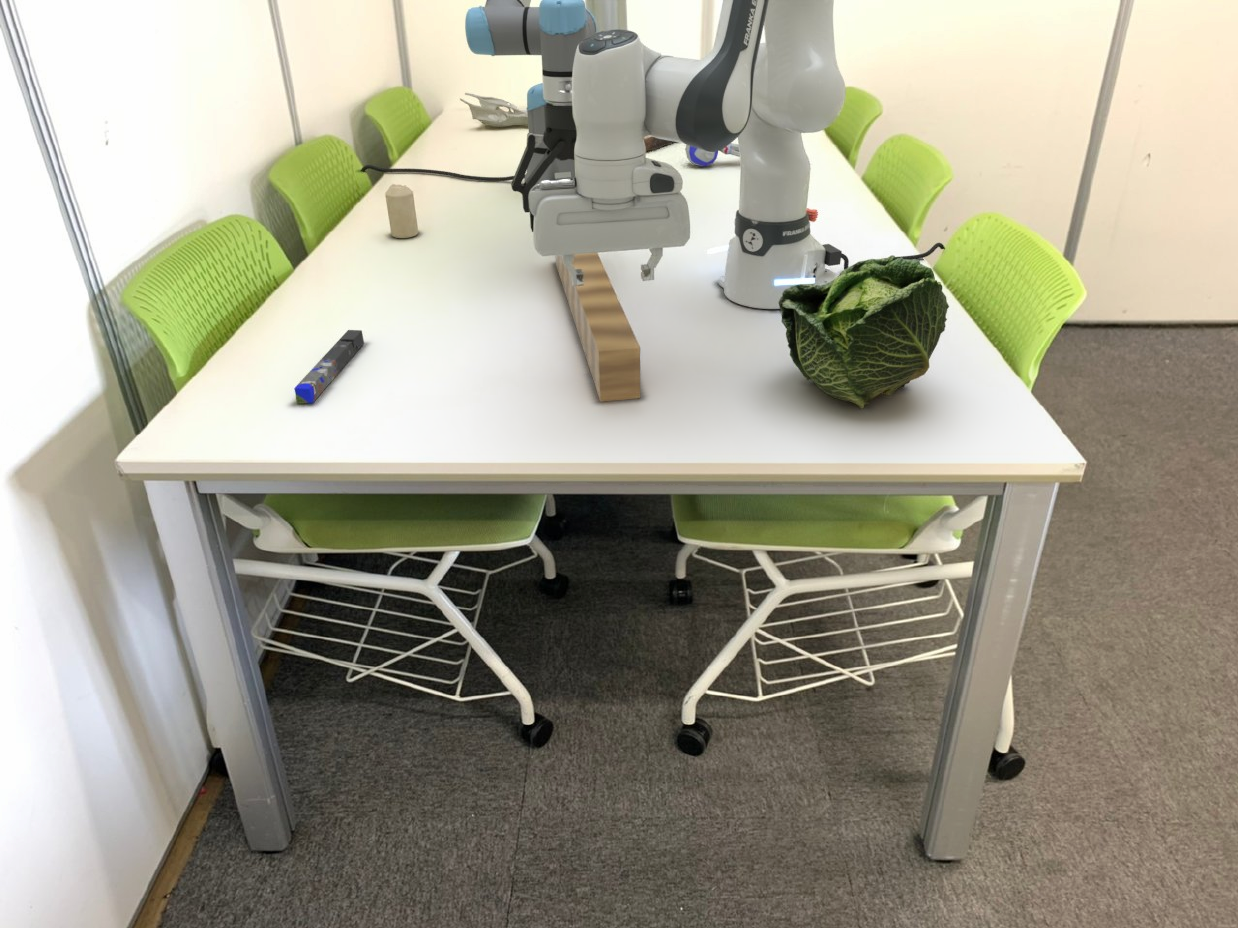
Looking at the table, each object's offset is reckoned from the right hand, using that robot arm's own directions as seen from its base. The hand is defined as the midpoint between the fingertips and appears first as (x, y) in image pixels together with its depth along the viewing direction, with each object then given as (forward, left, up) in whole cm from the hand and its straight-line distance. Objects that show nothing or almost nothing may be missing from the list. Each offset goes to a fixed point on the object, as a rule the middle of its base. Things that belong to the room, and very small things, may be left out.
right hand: (612, 282), depth 119 cm
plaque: (-126, -93, -15) cm, 157 cm away
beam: (-15, -17, -15) cm, 28 cm away
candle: (-27, -77, -15) cm, 83 cm away
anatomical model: (-114, -134, -15) cm, 177 cm away
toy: (-116, -50, -15) cm, 128 cm away
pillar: (+22, -35, -15) cm, 44 cm away
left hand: (-31, -34, -7) cm, 46 cm away
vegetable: (-19, +28, -15) cm, 37 cm away
